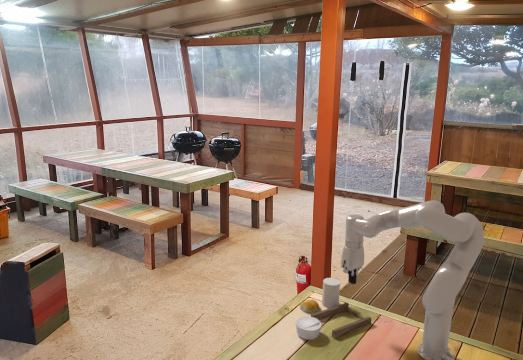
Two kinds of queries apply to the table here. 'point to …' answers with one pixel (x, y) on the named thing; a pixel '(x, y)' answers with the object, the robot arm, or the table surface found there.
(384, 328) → the table surface
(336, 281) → the cup
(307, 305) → the bread roll
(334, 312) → the walnut open-sided frame
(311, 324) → the ramekin
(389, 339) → the table surface
